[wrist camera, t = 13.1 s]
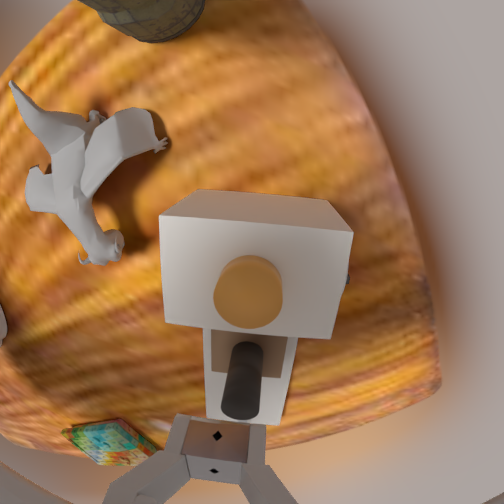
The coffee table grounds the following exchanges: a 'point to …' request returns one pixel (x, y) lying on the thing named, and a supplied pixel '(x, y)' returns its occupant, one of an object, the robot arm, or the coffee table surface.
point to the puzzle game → (110, 443)
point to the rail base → (262, 245)
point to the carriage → (245, 368)
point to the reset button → (249, 292)
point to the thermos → (149, 17)
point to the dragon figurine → (83, 166)
